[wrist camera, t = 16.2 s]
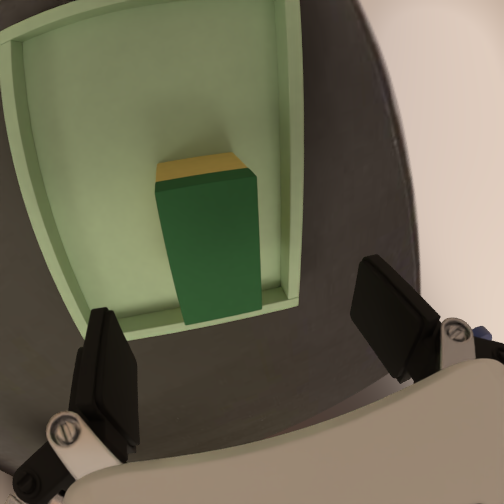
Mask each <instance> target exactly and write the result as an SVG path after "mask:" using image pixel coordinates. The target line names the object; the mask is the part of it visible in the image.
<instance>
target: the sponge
mask: <svg viewBox="0 0 504 504" xmlns="http://www.w3.org/2000/svg"><path fill="white" fill-rule="evenodd" d="M155 199H156V204H157V209H158V214H159V219H160V224H161V229H162V234H163V238H164V243H165V247H166V252H167V256H168V261H169V265H170V269H171V273H172V278H173V282H174V286H175V290H176V294H177V298H178V301H179V305H180V309H181V313H182V316H183V320H184V324H185V325H192V324H197V323H202V322H207V321H212V320H216V319H221V318H226V317H231V316H235V315H240V314H245V313H249V312H254V311H258V310H262V287H261V261H260V236H259V212H258V189H257V176H256V175H255V174H254V173H253V172H252V171H251V170H250V169H249V168H248V167H247V166H246V165H245V164H244V163H243V162H242V161H241V160H240V159H239V158H238V157H237V156H236V155H235V154H234V153H233V152H228V153H220V154H213V155H206V156H199V157H192V158H186V159H180V160H174V161H168V162H163V163H158V164H157V168H156V181H155Z"/></svg>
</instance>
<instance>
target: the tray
mask: <svg viewBox="0 0 504 504" xmlns="http://www.w3.org/2000/svg"><path fill="white" fill-rule="evenodd" d="M0 85H1V94H2V103H3V110H4V117H5V123H6V129H7V134H8V139H9V144H10V149H11V154H12V158H13V162H14V167H15V171H16V174H17V178H18V182H19V186H20V189H21V193H22V196H23V199H24V203H25V206H26V209H27V212H28V215H29V218H30V221H31V224H32V227H33V230H34V232H35V235H36V238H37V240H38V243H39V246H40V248H41V251H42V253H43V256H44V258H45V261H46V263H47V265H48V268H49V270H50V272H51V275H52V277H53V279H54V281H55V284H56V286H57V288H58V290H59V292H60V294H61V296H62V299H63V301H64V303H65V305H66V307H67V309H68V311H69V313H70V314H71V316H72V318H73V320H74V322H75V324H76V326H77V328H78V329H79V331H80V333H81V335H82V337H83V338H84V340H85V336H86V331H87V326H88V321H89V317H90V312H91V310H92V309H95V308H102V307H107V308H108V309H109V310H113V311H114V313H115V315H116V318H117V320H118V322H119V325H120V327H121V329H122V331H123V334H124V336H125V338H126V340H127V341H128V340H134V339H140V338H146V337H152V336H158V335H164V334H169V333H175V332H180V331H185V330H190V329H196V328H201V327H206V326H211V325H216V324H220V323H225V322H230V321H234V320H239V319H244V318H248V317H253V316H257V315H261V314H266V313H270V312H274V311H278V310H282V309H287V308H291V307H295V306H298V302H299V297H298V296H299V285H300V267H301V246H302V220H303V181H304V94H303V58H302V34H301V15H300V0H76V1H73V2H70V3H67V4H64V5H61V6H58V7H55V8H53V9H50V10H47V11H45V12H42V13H40V14H37V15H35V16H32V17H30V18H28V19H25V20H23V21H21V22H19V23H17V24H14V25H12V26H10V27H8V28H6V29H4V30H2V31H0ZM228 152H233V153H234V154H235V155H236V156H237V157H238V158H239V159H240V160H241V161H242V162H243V163H244V164H245V165H246V166H247V167H248V168H249V169H250V170H251V171H252V172H253V173H254V174H255V175H256V176H257V189H258V212H259V236H260V261H261V287H262V310H258V311H254V312H249V313H245V314H240V315H235V316H231V317H226V318H221V319H216V320H212V321H207V322H202V323H197V324H192V325H185V324H184V320H183V316H182V313H181V309H180V305H179V301H178V298H177V294H176V290H175V286H174V282H173V278H172V273H171V269H170V265H169V261H168V256H167V252H166V247H165V243H164V238H163V234H162V229H161V224H160V219H159V214H158V209H157V204H156V199H155V181H156V168H157V164H158V163H163V162H168V161H174V160H180V159H186V158H192V157H199V156H206V155H213V154H220V153H228Z"/></svg>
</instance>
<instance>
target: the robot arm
mask: <svg viewBox="0 0 504 504" xmlns="http://www.w3.org/2000/svg"><path fill="white" fill-rule="evenodd" d="M350 316H351V319H352V321H353V322H354V324H355V325H356V326H357V328H358V329H359V331H360V332H361V333H362V335H363V336H364V338H365V339H366V340H367V342H368V343H369V345H370V346H371V348H372V349H373V350H374V352H375V353H376V355H377V356H378V358H379V359H380V360H381V362H382V363H383V365H384V366H385V368H386V369H387V371H388V372H389V373H390V375H391V376H392V377H393V378H396V379H397V380H398V382H399V383H400V384H401V383H403V382H405V381H407V380H409V379H410V378H412V379H413V380H414V384H413V385H411V386H409V387H406V388H404V389H402V390H400V391H398V392H396V393H394V394H392V395H389V396H387V397H385V398H383V399H381V400H378V401H376V402H374V403H371V404H369V405H366V406H364V407H361V408H359V409H357V410H354V411H351V412H349V413H346V414H344V415H341V416H338V417H336V418H333V419H330V420H327V421H324V422H321V423H318V424H315V425H312V426H310V427H306V428H303V429H300V430H297V431H293V432H290V433H286V434H283V435H280V436H276V437H272V438H269V439H264V440H261V441H257V442H252V443H248V444H244V445H239V446H235V447H230V448H225V449H220V450H215V451H209V452H203V453H197V454H191V455H185V456H178V457H171V458H163V459H154V460H147V461H139V462H131V463H127V462H126V461H127V460H128V455H127V454H129V453H136V445H139V444H140V437H139V420H138V391H137V362H136V359H135V357H134V355H133V353H132V351H131V349H130V346H129V344H128V342H127V340H126V338H125V336H124V334H123V331H122V329H121V327H120V325H119V322H118V320H117V318H116V315H115V313H114V311H113V310H109V309H108V308H107V307H102V308H95V309H92V310H91V312H90V317H89V321H88V326H87V331H86V336H85V341H84V346H83V347H80V348H79V349H78V352H77V357H76V362H75V368H74V374H73V380H72V387H71V394H70V402H69V410H68V411H62V412H59V413H57V414H55V415H54V416H53V417H52V418H51V419H50V421H49V423H48V424H47V428H46V436H47V439H48V441H47V442H46V443H45V444H44V445H43V446H42V447H41V448H40V449H38V450H37V451H36V452H35V453H34V454H33V455H32V456H31V457H30V458H29V459H28V460H27V461H26V462H25V463H24V464H22V465H21V466H20V467H19V468H18V469H17V471H16V472H15V474H14V476H13V489H14V491H15V492H14V495H9V496H8V499H7V500H6V502H5V504H504V344H503V343H499V342H495V341H491V340H487V339H483V338H480V337H476V336H473V331H472V329H471V327H470V326H469V325H468V324H467V323H466V322H465V321H463V320H461V319H458V318H447V319H445V320H444V321H443V322H442V323H441V322H440V321H439V319H440V316H439V315H438V313H437V312H435V310H434V309H433V308H432V307H431V306H430V305H429V304H428V303H427V302H426V301H425V300H424V299H423V298H422V297H421V296H420V295H419V294H418V293H417V292H416V291H415V290H414V289H413V288H412V287H411V286H410V285H409V284H408V283H407V282H406V281H405V280H404V279H403V278H402V277H401V276H400V275H399V274H398V273H397V272H396V271H395V270H394V269H393V268H392V267H391V266H390V265H389V264H388V263H387V262H386V261H384V260H383V259H382V258H381V257H380V256H379V255H377V254H375V255H371V256H367V257H364V258H363V259H362V261H361V262H360V263H359V268H358V274H357V280H356V285H355V291H354V296H353V301H352V306H351V311H350Z"/></svg>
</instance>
